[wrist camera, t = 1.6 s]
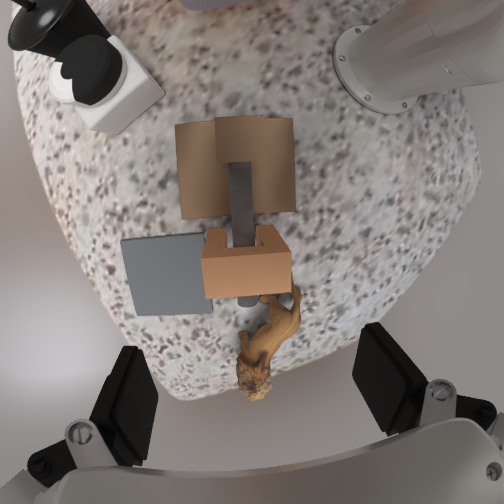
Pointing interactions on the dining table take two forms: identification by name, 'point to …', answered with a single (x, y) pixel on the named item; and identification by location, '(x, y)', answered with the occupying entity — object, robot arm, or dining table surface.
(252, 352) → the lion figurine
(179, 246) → the slate mat
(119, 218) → the dining table surface
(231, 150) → the stand
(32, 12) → the drinking cup
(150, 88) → the medicine bottle
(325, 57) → the dining table surface
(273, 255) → the c link
